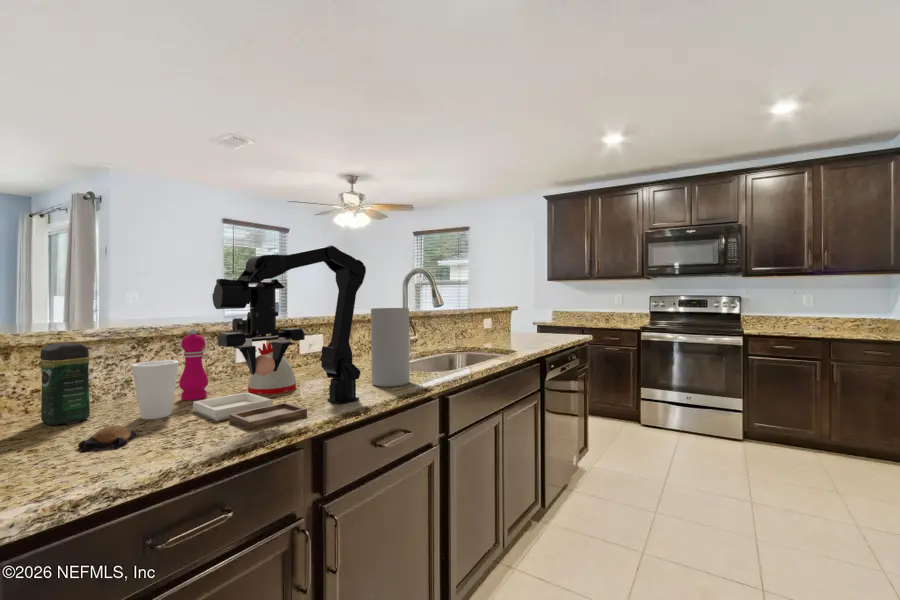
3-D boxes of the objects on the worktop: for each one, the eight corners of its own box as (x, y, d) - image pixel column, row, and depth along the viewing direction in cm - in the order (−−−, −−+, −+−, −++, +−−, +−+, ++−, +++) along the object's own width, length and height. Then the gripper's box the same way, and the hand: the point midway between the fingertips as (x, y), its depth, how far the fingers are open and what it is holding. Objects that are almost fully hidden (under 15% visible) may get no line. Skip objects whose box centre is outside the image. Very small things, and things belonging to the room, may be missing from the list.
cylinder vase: (383, 378, 150) (382, 307, 150) (415, 381, 146) (414, 308, 146) (364, 386, 138) (363, 309, 138) (399, 388, 134) (398, 309, 134)
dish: (247, 401, 119) (246, 392, 119) (271, 409, 111) (271, 399, 111) (193, 411, 109) (193, 401, 109) (215, 421, 100) (215, 410, 100)
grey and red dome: (240, 390, 134) (239, 342, 134) (282, 383, 144) (281, 338, 144) (261, 396, 125) (260, 345, 125) (304, 388, 135) (303, 341, 135)
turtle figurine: (92, 440, 89) (92, 423, 89) (141, 435, 92) (140, 418, 92) (70, 458, 79) (69, 438, 79) (125, 451, 83) (124, 432, 83)
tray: (285, 409, 110) (285, 402, 110) (307, 416, 104) (306, 408, 104) (229, 421, 99) (229, 414, 99) (249, 430, 93) (249, 422, 93)
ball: (269, 372, 106) (269, 352, 106) (278, 375, 103) (278, 354, 103) (248, 375, 102) (248, 354, 102) (258, 378, 99) (257, 356, 99)
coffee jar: (95, 419, 103) (94, 342, 102) (52, 428, 96) (51, 345, 96) (78, 414, 107) (77, 340, 107) (36, 422, 101) (34, 343, 100)
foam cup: (155, 422, 100) (154, 366, 100) (122, 420, 102) (121, 365, 102) (187, 411, 109) (187, 360, 109) (157, 409, 111) (156, 359, 111)
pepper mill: (173, 399, 122) (172, 329, 122) (196, 394, 128) (196, 327, 128) (191, 401, 119) (190, 330, 119) (214, 396, 126) (213, 328, 125)
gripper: (283, 306, 115) (284, 364, 115) (208, 308, 101) (209, 374, 101) (305, 306, 107) (306, 368, 107) (227, 309, 93) (228, 380, 94)
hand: (264, 372), depth 103 cm, fingers closed on ball, 5 cm apart
